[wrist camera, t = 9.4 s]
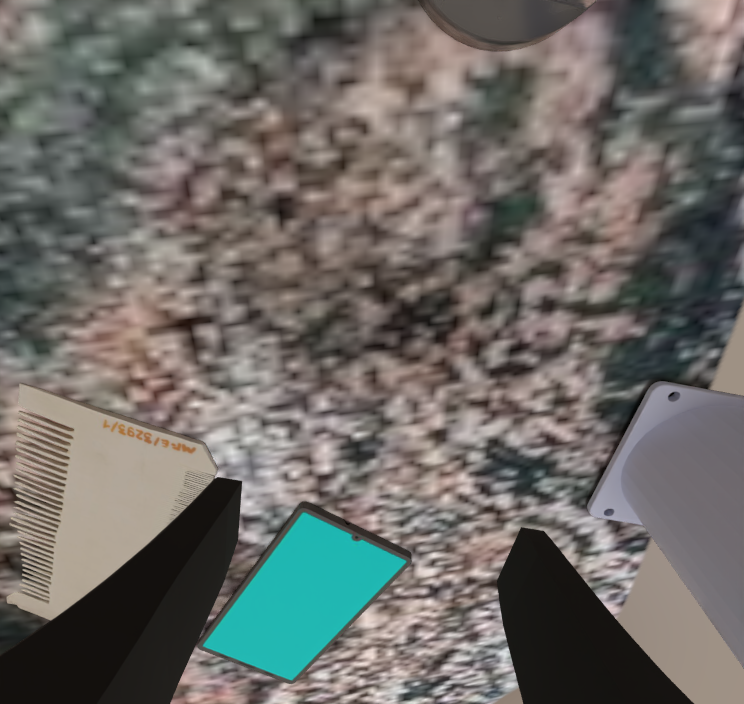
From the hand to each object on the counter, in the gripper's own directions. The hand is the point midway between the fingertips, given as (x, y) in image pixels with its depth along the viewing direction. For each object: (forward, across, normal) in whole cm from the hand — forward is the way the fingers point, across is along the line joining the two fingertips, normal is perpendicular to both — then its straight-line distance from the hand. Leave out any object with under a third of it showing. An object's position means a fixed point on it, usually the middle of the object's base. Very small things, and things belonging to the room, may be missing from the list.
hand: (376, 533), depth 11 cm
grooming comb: (+10, +14, +14) cm, 22 cm away
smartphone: (+10, +2, +17) cm, 20 cm away
